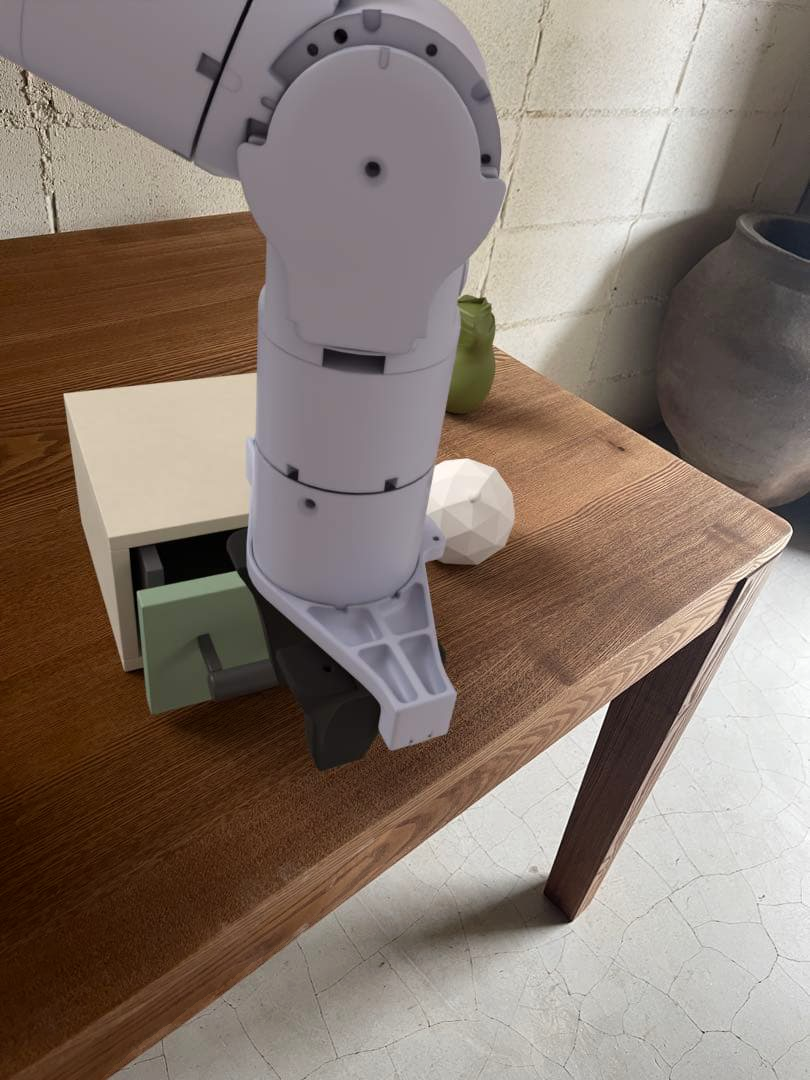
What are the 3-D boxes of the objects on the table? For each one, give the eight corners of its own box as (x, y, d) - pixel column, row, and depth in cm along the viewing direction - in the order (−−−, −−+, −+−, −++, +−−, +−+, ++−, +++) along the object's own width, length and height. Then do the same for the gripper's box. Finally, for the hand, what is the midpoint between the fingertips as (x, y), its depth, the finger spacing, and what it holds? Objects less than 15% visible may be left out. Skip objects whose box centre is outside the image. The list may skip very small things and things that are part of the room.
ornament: (519, 538, 62) (554, 510, 54) (436, 594, 60) (460, 574, 52) (463, 458, 62) (490, 419, 54) (379, 511, 60) (394, 479, 53)
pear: (497, 414, 74) (522, 306, 68) (454, 431, 71) (476, 320, 65) (452, 385, 77) (472, 279, 71) (409, 401, 74) (426, 291, 68)
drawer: (367, 718, 46) (384, 614, 41) (169, 776, 42) (161, 668, 37) (270, 530, 57) (274, 430, 52) (105, 561, 53) (92, 455, 48)
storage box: (323, 625, 53) (335, 498, 46) (124, 672, 48) (108, 537, 42) (254, 493, 62) (256, 372, 55) (81, 522, 57) (63, 393, 51)
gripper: (580, 563, 24) (487, 832, 32) (372, 324, 33) (342, 581, 42) (343, 619, 21) (310, 897, 30) (190, 340, 31) (199, 612, 39)
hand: (318, 715), depth 36 cm, fingers open, 4 cm apart
